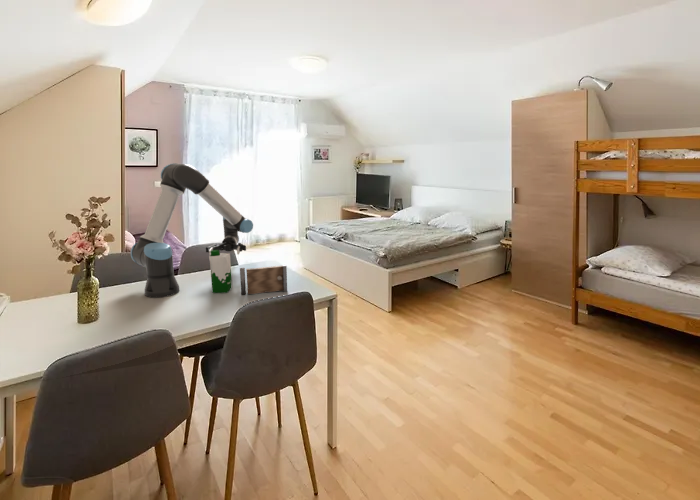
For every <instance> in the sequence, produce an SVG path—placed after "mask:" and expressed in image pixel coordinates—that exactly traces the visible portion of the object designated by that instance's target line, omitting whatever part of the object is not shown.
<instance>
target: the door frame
mask: <svg viewBox="0 0 700 500" xmlns="http://www.w3.org/2000/svg"><path fill="white" fill-rule="evenodd" d="M281 266H283V290H282V291H283V293H288V272H287V271H288V270H287V269H288V268H287V265H286V264H284V265H281ZM239 278H240V279H239V280H240V295H241V296H246V295H247V288H246V287H247V286H246V285H247V283H246V272H245V267H240V268H239Z"/></svg>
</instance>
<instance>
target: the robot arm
mask: <svg viewBox="0 0 700 500" xmlns="http://www.w3.org/2000/svg"><path fill="white" fill-rule="evenodd" d="M160 178H161V181H160V184H159V186H160V188H161V191H160V194H159V197H158V198H157V201H156V204H155V206H154V209H153V212H152V214H151V218H150V219H149V222H148V224H147V227H146V230H145V233H144V234H142V235H140V236H139V238H138V241H137V242H136V243H134V244H133V246H132V247H131V249H130V257H131V260H132V261H133V262H134V263H135V264H137V265H138V266H141V267H143V268H145V269H146V279H147V280H146V283H145V286H144V296H145V297H148V298H164V297H170V296H173V295H176V294H178V293H179V292H180V285H179V283H178V280H177V279H176V276H175V273H174V269H175V268H174V262H173V261H174V260H173V250H172V247H171V245H170V244H168V243H165V242H164V237H165V235H166V233H167V229H168V227H169V225H170V222H171V220H172V217H173V215H174V211H175V209H176V206H177V203H178V201H179V198H180V196H182V195H185V192H186V189H187V190H188V191H191V192H192V193H193V194H194V195H198V196H199V197H200V198H202V199H203V200H204V201H205V202H206V203H207V204H208V206H209V205H210V206H211V208H212V209H214V210H215V211H216V212H218V213H219V215H221V216H222V223H223V235H224V238H223V240H222V242H221V243H219V244H218V243H213V244H212V245H209V246H206V247H205V253H208V254H209V256H210V255H211V251H212V250H219V251H221V252H222V251H225V252H229V253H230V252H232V251H236V255H240V252H243V251H247V245H245V244H243V243H241V242H239V241H240V237H239V233H238V232H240V233H244V234H248V233H250V232H252V230H253V229H254V223H253V221H252V220H250V219H249V218H246V217H244V215H242V214H241V213H240V212H239V211H238V210H237V209H236V208H235V207H234V205H232V204H231V203H230V202H229V201H228V200H227V199H226V198H225V197H224V196H223V195H222V194H220V193H219V192H218V191H217V189H215V188H214V187H213V186H212V185H211V184H210V180H209V179H208V178H207V177H206V176H205V175H204V174H203V173H202V172H201V171H199V170H198V169H197V168H195V167H194V166H193V165H191V164H187V163H170V164H167V165H165V166H164V167H163V168H162V170H161V171H160ZM209 256H208V257H209Z"/></svg>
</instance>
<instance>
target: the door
mask: <svg viewBox="0 0 700 500" xmlns="http://www.w3.org/2000/svg"><path fill="white" fill-rule="evenodd" d="M246 285H247V286H246V287H247V288H246V291H247V295H255V294H263V293H272V292H281V291H283V266H282V265H275V266H264V267H263V266H262V267H252V268H246Z"/></svg>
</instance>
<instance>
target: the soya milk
mask: <svg viewBox="0 0 700 500" xmlns="http://www.w3.org/2000/svg"><path fill="white" fill-rule="evenodd" d="M220 251H221V250H212V251H211V255H210V256H208V260H209V267H210V281H211V292H212V293H213V294H214V293H215V294H228V293H229V292H230V291H231V289H232V281H233V280H232V267H231V266H232V265H231V264H232V263H231V253H230V252H229V253H226V252H220Z"/></svg>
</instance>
